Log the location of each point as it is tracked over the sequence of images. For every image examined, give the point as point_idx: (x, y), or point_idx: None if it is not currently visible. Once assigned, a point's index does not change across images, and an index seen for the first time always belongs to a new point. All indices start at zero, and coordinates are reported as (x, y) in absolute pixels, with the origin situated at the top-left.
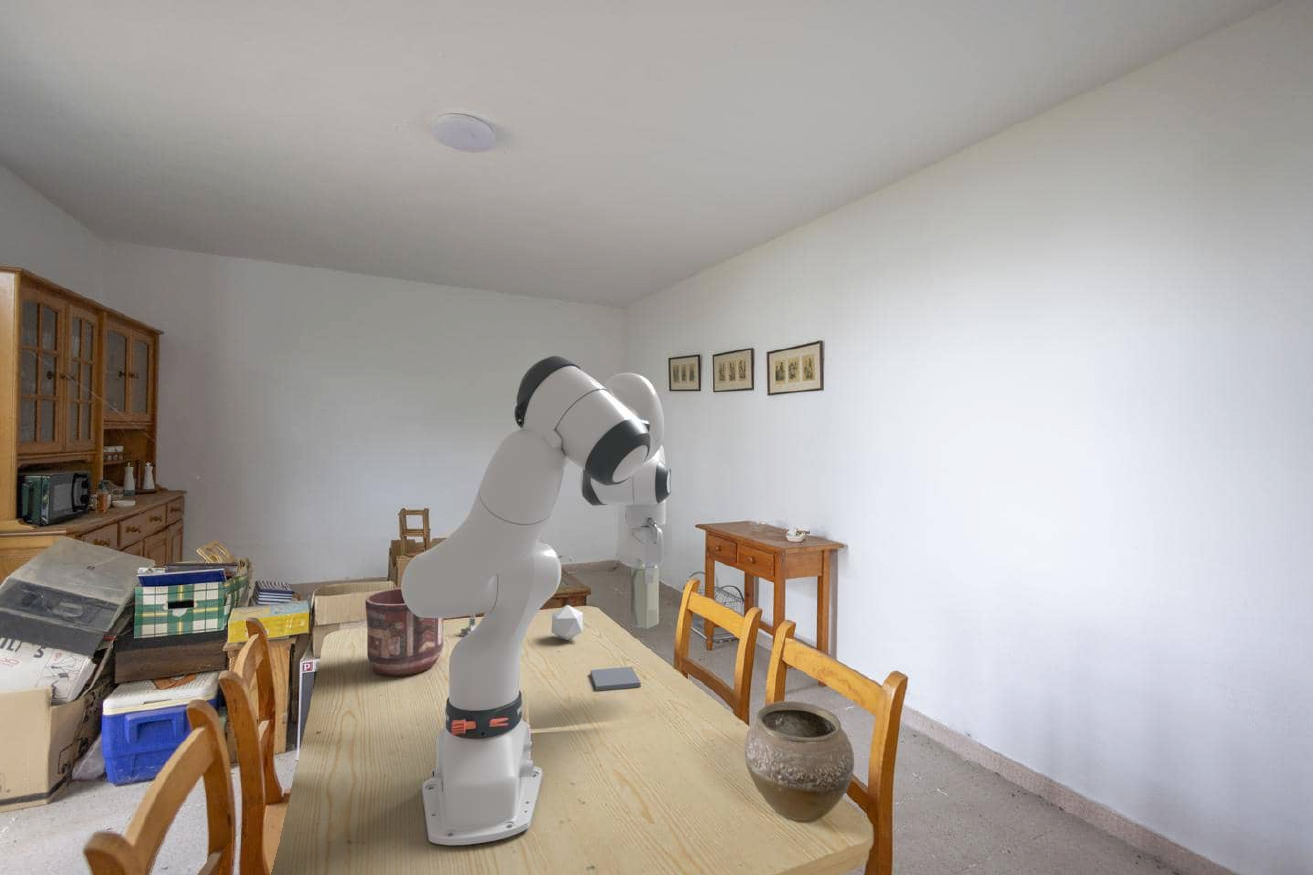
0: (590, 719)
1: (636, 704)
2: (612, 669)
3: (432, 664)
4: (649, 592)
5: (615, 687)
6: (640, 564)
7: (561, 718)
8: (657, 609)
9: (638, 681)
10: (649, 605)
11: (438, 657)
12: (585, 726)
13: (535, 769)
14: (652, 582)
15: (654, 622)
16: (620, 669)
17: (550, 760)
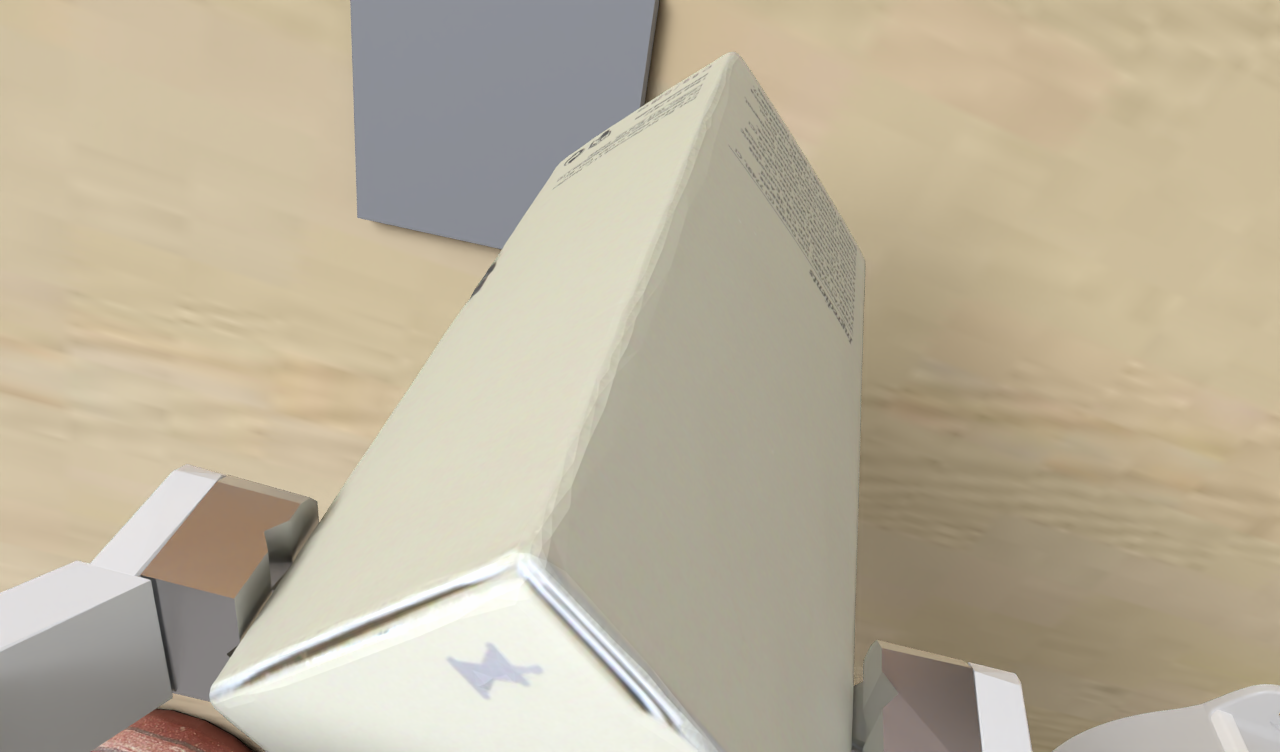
0: (954, 407)
1: (909, 127)
2: (374, 88)
3: (214, 742)
4: (833, 486)
5: None
6: (116, 685)
7: (870, 501)
8: (735, 147)
9: (631, 2)
10: (838, 363)
11: (171, 735)
12: (1013, 449)
13: (1263, 707)
14: (1013, 676)
15: (791, 149)
16: (386, 37)
17: (1216, 642)
